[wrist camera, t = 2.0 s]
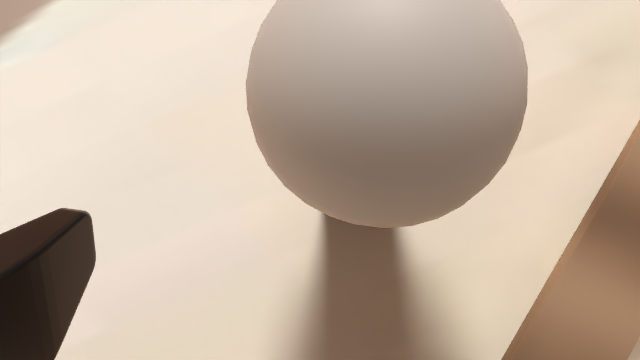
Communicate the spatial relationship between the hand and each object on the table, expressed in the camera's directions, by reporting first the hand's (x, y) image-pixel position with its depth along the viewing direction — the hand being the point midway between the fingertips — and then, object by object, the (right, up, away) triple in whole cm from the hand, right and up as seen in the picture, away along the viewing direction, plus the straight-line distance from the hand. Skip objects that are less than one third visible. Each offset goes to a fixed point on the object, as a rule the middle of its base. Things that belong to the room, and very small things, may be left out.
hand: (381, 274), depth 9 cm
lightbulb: (0, +1, +12) cm, 12 cm away
